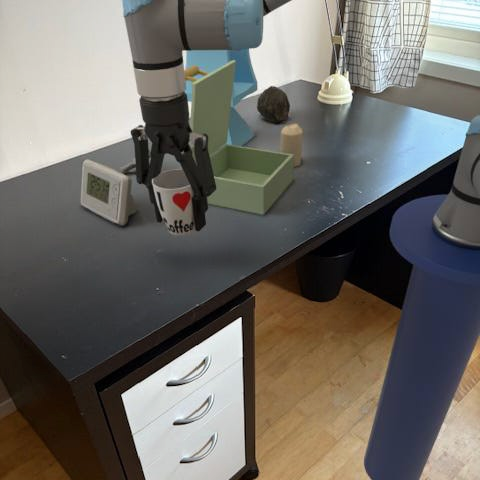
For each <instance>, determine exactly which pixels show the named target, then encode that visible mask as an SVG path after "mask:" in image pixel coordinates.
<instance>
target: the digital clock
mask: <svg viewBox="0 0 480 480" xmlns="http://www.w3.org/2000/svg"><path fill="white" fill-rule="evenodd" d="M81 169H82V171H81V186H80V187H81V188H80V204H81V206H83V207H84V208H86V209H88V210H90V212H92V213H94V214H96V215H97V216H99V217H101V218H104V219H105V220H108V221H109V222H111V223H113V224H117V225H119V226H121V227H124V226H125V225H127V223H128V220H129V216H131V215H134V214H135V213H136V206H135V200H134V196H133V194H132V178H131V177H130V176H128V175H126V174H124V173H123V172H121V171H119V170H117V169H115V168H112V167H110V166H107V165H105V164H103V163H102V162H101V163H100V162H98V161H94V160H91V159H89V158H88V159H85V160H84V161H83V163H82V168H81Z"/></svg>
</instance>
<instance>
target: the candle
mask: <svg viewBox="0 0 480 480" xmlns="http://www.w3.org/2000/svg"><path fill="white" fill-rule="evenodd" d="M303 134H304V133H303V129H302V128H301V127H300V126H299V124H297V123H292V124H288V125H285V126H284V127H282V129H281V130H280V152H281V153H287V154H294V163H293V168H295V167H298V166H300V165H301V163H302V149H303Z"/></svg>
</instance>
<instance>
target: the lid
mask: <svg viewBox="0 0 480 480" xmlns="http://www.w3.org/2000/svg"><path fill="white" fill-rule="evenodd" d="M235 66H236V61H235V60H232V61H230V62H229V63H227V64H225V65H223V66H222V67H220V68H218V69H216V70H214V71H213V72H211V73H208V72H205V71H201V70H199V67H198V66H196V65H193V66H191V67H189V68H188V69H186V68H185V69H186V70H185V69H184V73H185V81H187V80H188V81H191V82H193V84H192V102H190V104H191V106H190V119H189V125H190V128H191V129H192V132H193V133H196V134H199V135H202V134H204V133H205V134H207V135H208V152H209V156H211V155H213V154H214V153H215V152H216V151H217V150H218V149H219V148H221V147H222V146H223V145H224V144H226V143H227V136H228V127H229V118H230V110H231V101H232V92H233V84H234V75H235ZM198 74H200V75H203V76H204V77H202V78H200V79H196V78H193V77H194V76H196V75H198ZM189 145H190V147H191V149H192V156H193V158H194V160H195V163H196V159H195V154H194V149H193V148H192V142H191V141H189ZM196 165H197V163H196Z"/></svg>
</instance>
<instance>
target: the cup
mask: <svg viewBox="0 0 480 480" xmlns="http://www.w3.org/2000/svg"><path fill="white" fill-rule="evenodd" d="M152 185H153V189H154V193H155V197H156V201H157V205H158V208H159V210H160V213H161V216H162V219H163V221H162V222H163V223H164V225H165V227H166V228H167V230H168V233H170V234H171V235H173V236H176V237H183V236H188V235H190V234H193V233H194V232H195V222H194V214H193V206H192V197H194V196H195V194H194V192H193V190H192V188H191V185H190V184H189V181H188V179H187V177H186V175H185V173H184V171H183V169H181V168H176V169H168V170H165V171H161V173H160V174H159V175H158V176H157V177H155V178H153V179H152Z"/></svg>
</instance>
